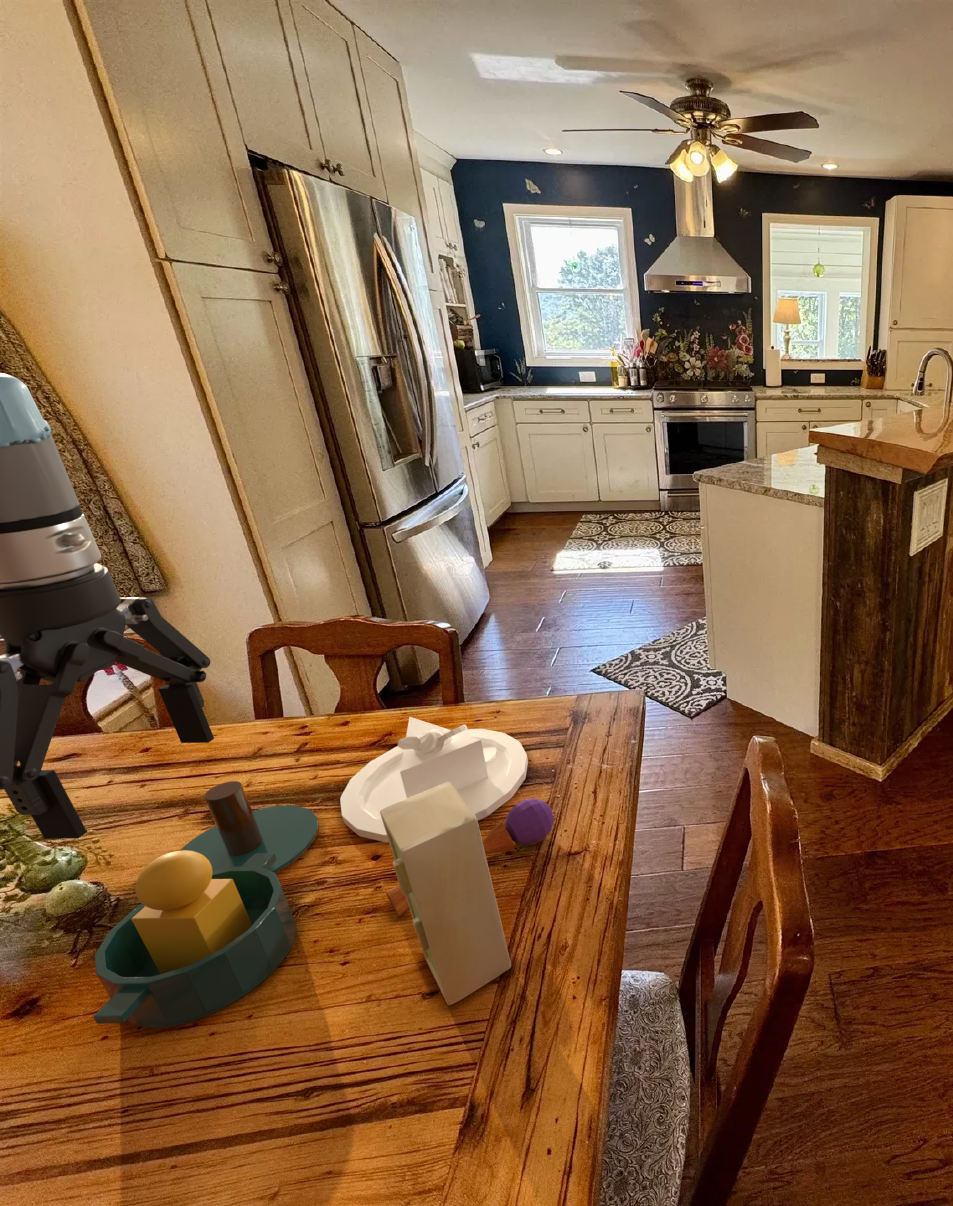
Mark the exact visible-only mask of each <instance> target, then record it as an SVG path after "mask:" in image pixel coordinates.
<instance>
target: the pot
mask: <svg viewBox="0 0 953 1206" xmlns="http://www.w3.org/2000/svg"><path fill="white" fill-rule="evenodd" d="M276 860H277V858H276V855H275V854H274V853H268V854H253V855H252V856H251V857H250V858H249V860H248V861H247V862H246V863H245V864H244V865H243V866H242V867H229V868H225V869H221V870H217V871H212V872H213V873H212V879H233V881H234V884H235V886H236V888H237V891H238V893H239V895H240V898H241V900H242V902H243V905H244V907H245V909H246V912H247V914H248V916H249V919H250V921H251V923H252V926H251V927H250V928H249V929H248V930H247V931H246V932H244V933H243V934H241V935H240V936H239V937H237V938H236V939H235V940H233V941H232V942H231V943H229V944H228V945H226V946H225V947H224V948H222V949H221V950H219V951H217V952H215V953H213V954H211V955H209V956H207V957H205V958H203V959H201V960H199V961H197V962H195V963H193V964H191V965H189V966H187V967H184V968H180V969H177V970H173V971H170V972H166V973H163V974H160V972H159V970H158V969H157V967H156V965H155V963H154V961H153V959H152V957H151V955H150V953H149V952H148V950H147V948H146V946H145V944H144V942H143V940H142V938H141V936H140V935H139V933H138V931H137V929H136V927H135V925H134V923H133V921H132V918H133V917H134V916H135V915H136V914H137V913H138V912H139V911H141V910H142V909H143V908H144V907H145V905H143V904H142V903H141V904H139V905H138V906H136V907H135V908H133V909H132V910H131V911H130V912H129V913H128V914H127V915H125V917H123V918H122V919H121V920H120V921H119V922H118V923H116V925H115V926H114V927H112V928H111V929H110V930H108V933H107V934H106V936H105V937H104V939H103V941H102V943H101V944H100V945H99V947H98V949H97V951H96V952H95V954H94V964H95V974H96V976H97V978H98V979H99V982H100V983H101V985H102V986H103V988H104V990H105V992H106V993H107V995H108V997H109V1000H108V1001H107V1002H105V1004H104V1005H103V1006H102V1007H101V1008H100V1009H99V1010H98V1011H96V1013H95V1014H94V1015H93V1016H92V1018H93V1020H94V1022H95V1023H96V1024H97V1025H98V1024H99V1025H101V1024H102V1025H105V1024H124V1023H125V1022H126V1021H127V1022H128V1023H129V1024H131V1025H134V1026H137V1027H139V1028H145V1029H163V1028H165V1029H166V1028H170V1027H177V1026H181V1025H184V1024H187V1023H191V1022H194V1021H197V1020H200V1019H202V1018H205V1017H207V1016H209V1015H211V1014H214V1013H216V1012H219V1011H220V1010H222V1009H225V1008H227V1006H230V1005H231V1004H233V1003H235V1002H237V1001H238V1000H239V999H241V998H243V997H244V996H246V995H247V994H249V993H250V992H251V991H253V990H254V989H255V988H256V987H258V986H259V985H260V984H262V983H263V982H264V981H265V980H266V979H268V977H270V976H271V975H272V974H273V973H274V972H275V970H277V969H278V967H279V966H280V965H281V964H282V963H283V961H284V960H285V959H286V957H287V956H288V954H289V952H290V951H291V949H292V947H293V945H294V942H295V940H296V936H297V922H296V920H295V918H294V915H293V912H292V910H291V906H290V905H289V901H288V900H287V896H286V894H285V892H284V889H283V887H282V885H281V883H280V880H279V877H278V875H277V873H273V872H271V871H268V869H269V868H270V867H271V865H272V864H273V863H274V862H275V861H276Z"/></svg>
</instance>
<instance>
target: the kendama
mask: <svg viewBox="0 0 953 1206" xmlns="http://www.w3.org/2000/svg"><path fill="white" fill-rule="evenodd" d="M554 822H555V819H554V813H553V809H552V807H551V806H550V805H549V804H548V803H546V802H545V801H544V800H541V799H539V798H538V799H537V798H527V799H523V800H522V801H520V802H518V803H516V804H515V805H514V806H513V807H512V808H511V809H510V811H509V812H508V813H507V815H506V818H505V821H504V824H505V825H504V824H503V823H502V822H501V821H498V822H497V823H496V825H495V826H494V827H493V829H491V831H490V832H489V833H488V835H487V836H486V837H485V838H484V840H482V842H483V847H484V851H485V855H492V854H493V855H494V854H499V853H506V852H511V851H514V850H515V844H516V845H520V846H525V847H527V846H533V845H537V844H538V843H540V842H541V841H542V840H545V839H546V838H547V836H548V835H549V834H550V832H552V828H553V826H554ZM514 843H515V844H514ZM385 894H386V896H387V898H388V900H389V902H390V904H391V907H392V908H393V909H394V912H395V913H396V915H397V916H398V917H400V916H402V914H404V913H406V912H407V911H408V910H410V908H409V905H408V902H407V899H406V896H403V894H402V892H401V889H400V885H399V884H398V885H396V886H395V887H392V888H389V889H388V890H386V891H385Z"/></svg>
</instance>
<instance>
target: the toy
mask: <svg viewBox="0 0 953 1206" xmlns="http://www.w3.org/2000/svg"><path fill="white" fill-rule="evenodd" d="M212 873H213V872H212V866H211V863H210V862H209V860H208V859H207V858H206V857H205V856H203V855H202V854H200V853H197V852H194V851H187V850H183V851H180V850H175V851H171V852H167V853H164V854H163V855H160V856H158V857H155V859H153V860H152V861H150V862H149V863H148V864H146V866H145V867H143V869H142V870H141V871H140V873H139V875H138V877H137V879H136V881H135V887H134V891H135V895H136V899H137V900H138V901H139V902H140V903H141V905H142V904H143V905H145V907H144V908H143V909H142V910H141V911H139V912H138V913H137V914H136V915H135V916H134V917H133V918H132V921H133V923H134V925H135V927H136V929H137V931H138V933H139V935H140V936H141V938H142V940H143V942H144V944H145V946H146V948H147V950H148V952H149V953H150V955H151V957H152V959H153V961H154V963H155V965H156V967H157V969H158V970H159V972H160V974H163V973H166V972H170V971H173V970H177V969H180V968H184V967H187V966H189V965H191V964H193V963H195V962H197V961H199V960H201V959H203V958H205V957H207V956H209V955H211V954H213V953H215V952H217V951H219V950H221V949H222V948H224V947H225V946H226V945H228V944H229V943H231V942H232V941H233V940H235V939H236V938H237V937H239V936H240V935H241V934H243V933H244V932H246V931H247V930H248V929H249V928H250V927H251V926H252V923H251V921H250V919H249V916H248V914H247V912H246V909H245V907H244V905H243V902H242V900H241V898H240V895H239V893H238V891H237V888H236V886H235V884H234V881H233V879H212Z"/></svg>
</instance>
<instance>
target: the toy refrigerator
mask: <svg viewBox="0 0 953 1206" xmlns="http://www.w3.org/2000/svg"><path fill="white" fill-rule="evenodd" d="M380 814H381V818H382V821H383V824H384V827H385V830H386V834H387V837H388V840H389V842H388V843H389V846H390V849H391V853H392V856H393V859H394V860H392V866H393V869H394V873H395V875H396V879H397V882H398V885H400V889H401V892H402V894H403V896H406V899H407V902H408V905H409V908H410V909H409V912H410V915H411V918H412V920H411V921H412V925H413V927H414V930H415V933H416V937H417V940H418V942H419V945H420V948H421V950H422V953H423V956H424V959H425V961H426V963H427V965H428V968H429V970H430V972H431V974H432V976H433V978H434V980H435V982H436V984H437V987H438V988H439V990H440V992H441V995H442V997H443V999H444V1002H445V1003H446V1005H447V1006H452V1005H454V1004H457V1003H459V1002H460V1001H461V1000H463V999H464V998H467V997H468V996H469V995H471V994H472V993H474V992H476V991H477V990H479V989H481V988H482V987H484V986H485V985H487V984H488V983H490V982H491V981H493V980H495V979H497V978H498V977H500V976H501V975H503V974H504V973H505V972H507V971H508V970H510V969H511V968H512V962H511V957H510V954H509V950H508V946H507V945H508V944H507V940H506V937H505V933H504V928H503V924H502V920H501V915H500V911H499V905H498V902H497V898H496V894H495V890H494V886H493V881H492V877H491V872H490V867H489V865H488V860H487V856H486V855H485V851H484V847H483V838H482V834H481V830H480V826H479V822H478V821H479V820H478V821H477V818H476V816H475V815H474V813H473V812H472V810H471V809H470V808H469V806H468V805H467V804H466V802H465V801H464V800H463V798H462V797H461V796H460V794H459V793H458V792H457V790H456V789H455V787H454V786H453V785H452V784H451V783H450V782H446V783H443V784H441V785H438V786H436V787H434V788H431V789H429V790H426V791H424V792H421V793H419V794H417V795H414V796H412V797H410V798H407V799H405V800H402V801H400V802H397V803H395V804H393V805H390V806H388V807H386V808H384V809H382V810H381V811H380Z"/></svg>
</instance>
